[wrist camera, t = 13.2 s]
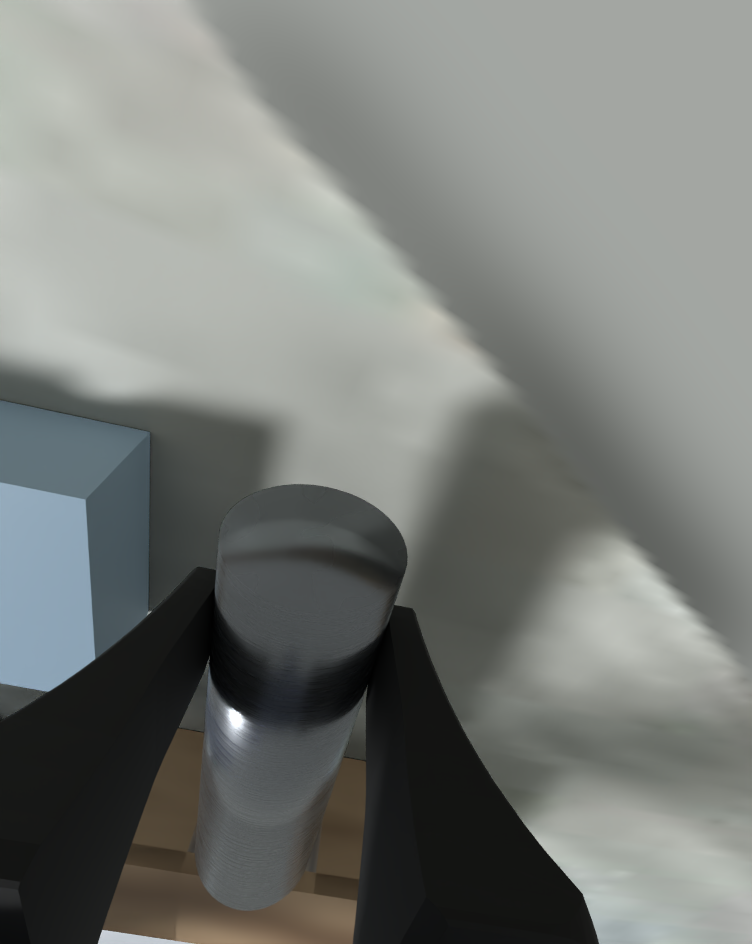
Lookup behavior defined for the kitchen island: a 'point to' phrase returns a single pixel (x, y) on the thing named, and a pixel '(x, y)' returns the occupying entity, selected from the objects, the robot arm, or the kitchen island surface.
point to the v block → (69, 541)
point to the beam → (189, 903)
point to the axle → (286, 678)
